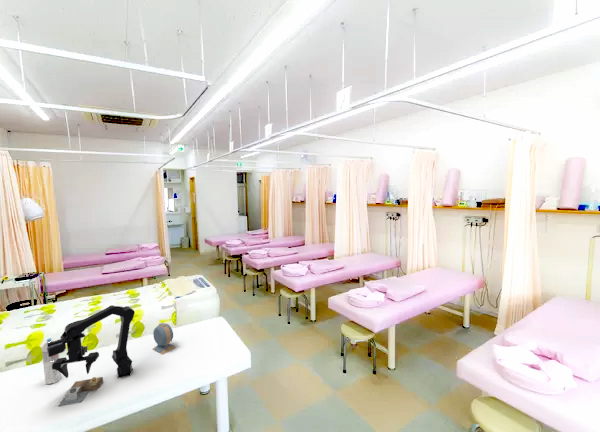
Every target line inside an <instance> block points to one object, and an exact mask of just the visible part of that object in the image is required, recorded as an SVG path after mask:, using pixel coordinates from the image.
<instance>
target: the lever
mask: <svg viewBox="0 0 600 432" xmlns="http://www.w3.org/2000/svg"><path fill="white" fill-rule="evenodd" d="M98 378H99V377H95V376H94V377H92V378H90V379H91V381H90V382H89V383H90V386H95V385H97V383H98V382H99V380H98Z"/></svg>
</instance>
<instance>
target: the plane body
mask: <svg viewBox="0 0 600 432" xmlns="http://www.w3.org/2000/svg"><path fill="white" fill-rule="evenodd" d="M97 378H98V380H99V382H98V383H97V385H95V386H90V383H89V382H90V381H91V379H92V378H90V379H89V378H88V379H81V380H78V381H75V382H73V384H72V386H71V387H70V388H75V387H80V386H81V390H82V392H84V391H88V392H90V391H96V390H99V389H100V388H101V386H102V384H103V383H104V378H103V376H100V377H97Z"/></svg>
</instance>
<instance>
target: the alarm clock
mask: <svg viewBox="0 0 600 432" xmlns="http://www.w3.org/2000/svg"><path fill="white" fill-rule="evenodd" d="M152 335H153V339H154V342H155V343H156V346H155V347H153V348H152V350H153V351H154V352H157V353H158V354H160V355H164V354H167V353H168V352H170V351H172V350H174V349H177V347H176V346H175V345H173V344H171V342H172V341H173V339H174V332H173V329H172V327H171V326H170V324H169V323H164V322H161V323H159V324H157V326H155V327H154V330H153V334H152Z"/></svg>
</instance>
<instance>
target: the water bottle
mask: <svg viewBox="0 0 600 432" xmlns="http://www.w3.org/2000/svg"><path fill="white" fill-rule="evenodd" d="M53 341H54V340H52V338H47V339H46V342H45V343H44V344H43V345H42V347H41V352H42V364H43V372H44V382H45V384H46V385H52V384H55V383H57V382H59V381H60V380H61V379H62V373H60V372H59V371H58V370H55V369H54V370H52V364H53V363H54V362H55V361H56V360H57V359H58V358H60V353H59V354H56V355H54V356H51V357H48V352H47V343H49V342H53Z"/></svg>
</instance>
